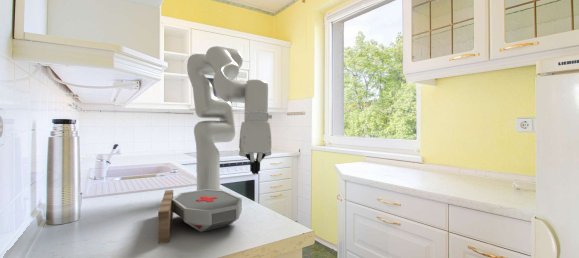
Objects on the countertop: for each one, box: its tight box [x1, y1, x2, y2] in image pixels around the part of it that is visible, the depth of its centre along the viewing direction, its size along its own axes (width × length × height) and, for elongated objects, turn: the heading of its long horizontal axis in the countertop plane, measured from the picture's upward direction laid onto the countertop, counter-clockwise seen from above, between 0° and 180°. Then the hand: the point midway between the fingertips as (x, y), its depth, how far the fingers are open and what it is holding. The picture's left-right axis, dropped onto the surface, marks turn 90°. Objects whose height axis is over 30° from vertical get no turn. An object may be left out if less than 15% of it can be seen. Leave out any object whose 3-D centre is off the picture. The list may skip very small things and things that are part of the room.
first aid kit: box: [172, 189, 243, 233], centre depth 90 cm, size 18×8×25 cm
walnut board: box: [157, 189, 175, 244], centre depth 87 cm, size 25×2×8 cm, turn 19°
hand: (255, 173), depth 96 cm, fingers closed
